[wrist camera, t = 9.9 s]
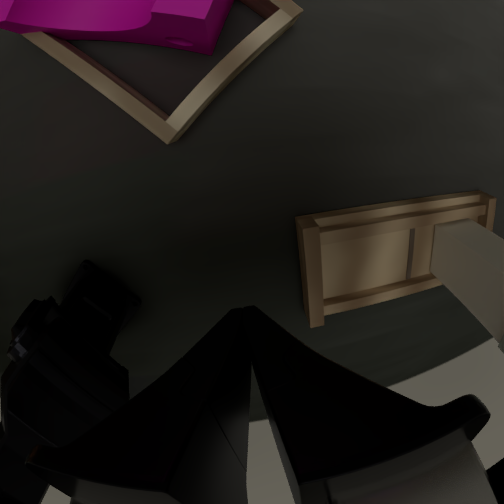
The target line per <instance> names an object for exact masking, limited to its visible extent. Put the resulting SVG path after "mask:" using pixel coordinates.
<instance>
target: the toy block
mask: <svg viewBox="0 0 504 504" xmlns="http://www.w3.org/2000/svg"><path fill="white" fill-rule="evenodd" d="M233 2H234V0H0V28H1V29H5V30H9V31H12V32H16V33H19V34H25V33H33V32H44V33H50V34H52V35H53V36H55V37H58V38H61V39H63V40H105V41H120V42H132V43H141V44H150V45H157V46H164V47H170V48H176V49H182V50H187V51H192V52H197V53H202V54H207V55H211V56H212V53H213V51H214V48H215V45H216V43H217V40H218V38H219V35H220V33H221V30H222V28H223V25H224V23H225V21H226V18H227V16H228V13H229V11H230V9H231V7H232V4H233Z"/></svg>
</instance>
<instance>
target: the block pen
mask: <svg viewBox="0 0 504 504" xmlns="http://www.w3.org/2000/svg"><path fill="white" fill-rule="evenodd" d="M240 1H241V2H242V3H244V4H245V5H247V6H248V7H249V8H251V9H252V10H254V11H255V12H256V13H258V14H259V15H260V16H262V17H263V18H264V19H266V21H264V22H263V23H262V24H261V25H260V26H258V27H257V28H256V29H255V30H254V31H253V32H252V33H250V34H249V35H248V36H247V37H246V38H245V39H244V40H243V41H241V42H240V43H239V44H238V45H237V46H236V47H235V48H234V49H233V50H232V51H231V52H230V53H229V54H228V55H226V56H225V57H224V58H223V59H222V60H221V61H220V62H219V63H218V64H217V65H216V66H215V67H214V68H213V69H212V70H211V71H210V72H209V73H208V74H207V76H206V77H205V78H204V79H203V80H202V81H201V82H200V83H199V84H198V85H197V86H196V87H195V88H194V89H193V90H192V92H191V93H190V94H189V95H188V96H187V97H186V98H185V99H184V100H183V102H182V103H181V104H180V105H179V106H178V107H177V109H176V110H175V111H174V112H173V113H172V114H171V116H169V115H168V114H166V113H165V112H164V111H162V110H161V109H160V108H159V107H157V106H156V105H155V104H153V103H152V102H151V101H149V100H148V99H147V98H146V97H144V96H143V95H142V94H140V93H139V92H138V91H136V90H135V89H134V88H132V87H131V86H130V85H128V84H127V83H126V82H124V81H123V80H121V79H120V78H119V77H117V76H116V75H115V74H113V73H112V72H111V71H109V70H108V69H106V68H105V67H104V66H102V65H101V64H99V63H98V62H97V61H95V60H94V59H92V58H91V57H89V56H88V55H86V54H85V53H84V52H82V51H81V50H79V49H78V48H76V47H75V46H73V45H72V44H70V43H69V42H67V41H66V40H63V39H61V38H58V37H55V36H53V35H52V34H50V33H44V32H33V33H25V34H21V35H22V36H24V37H25V38H27V39H28V40H30V41H31V42H32V43H34V44H35V45H37V46H38V47H40V48H41V49H42V50H44V51H45V52H47V53H48V54H49V55H51V56H52V57H54V58H55V59H56V60H58V61H59V62H60V63H62V64H63V65H65V66H66V67H67V68H69V69H70V70H71V71H73V72H74V73H75V74H77V75H78V76H79V77H81V78H82V79H83V80H85V81H86V82H88V83H89V84H90V85H92V86H93V87H94V88H95V89H97V90H98V91H99V92H101V93H102V94H103V95H105V96H106V97H107V98H109V99H110V100H111V101H113V102H114V103H115V104H116V105H118V106H119V107H120V108H122V109H123V110H124V111H126V112H127V113H128V114H129V115H131V116H132V117H133V118H135V119H136V120H137V121H138V122H140V123H141V124H142V125H143V126H145V127H146V128H147V129H149V130H150V131H151V132H152V133H154V134H155V135H156V136H157V137H159V138H160V139H161V140H162V141H164V142H165V143H166V144H170V143H173V142H175V141H178V140H179V138H180V137H181V136H182V135H183V134H184V132H185V131H186V130H187V129H188V128H189V127H190V125H191V124H192V123H193V122H194V121H195V120H196V119H197V117H198V116H199V115H200V114H201V113H202V112H203V111H204V110H205V109H206V107H207V106H208V105H209V104H210V103H211V102H212V101H213V100H214V99H215V98H216V97H217V96H218V95H219V94H220V92H221V91H222V90H223V89H224V88H225V87H226V86H227V85H228V84H229V83H230V82H231V81H232V80H233V79H234V78H235V77H236V76H237V75H238V74H239V73H240V72H241V71H242V70H243V69H244V68H245V67H246V66H247V65H249V64H250V63H251V62H252V61H253V60H254V59H255V58H256V57H257V56H258V55H259V54H260V53H261V52H262V51H264V50H265V49H266V48H267V47H268V46H269V45H270V44H271V43H273V42H274V41H275V40H276V39H277V38H278V37H279V36H281V35H282V34H283V33H284V32H285V31H287V30H288V29H289V28H290V27H291V26H292V25H293V24H294V23H295V21H296V20H297V18H298V17H299V16H300V14H301V13H302V11H303V9H302V8H300V7H299V6H298V5H297V4H295V3H294V2H293V1H292V0H240Z"/></svg>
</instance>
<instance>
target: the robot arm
mask: <svg viewBox="0 0 504 504" xmlns="http://www.w3.org/2000/svg"><path fill="white" fill-rule="evenodd" d="M85 265H87V267H88V268H87V267H86V266H85ZM55 301H56V300H55V299H54V298H53V297H52V296H50V297H49V298H48V299H47V300H45V299H44V300H43V301H38V300H35V299H34V300H33V301H32V302H31V303H30V305H29V306H28V307H27V308H26V309H25V311H24V312H23V313H22V315H21V316H20V317H19V319H18V320H17V322H16V323H15V325H14V326H13V328H12V329H11V333H12V340H11V343H10V347H9V349H8V352H7V355H8V356H9V357H10V358H11V359H12V361H11V362H10V364H9V365H8V367H7V368H6V370H5V372H4V373H3V375H2V377H1V422H0V504H41V502H42V500H43V498H44V496H45V494H46V491H47V490H48V488H49V486H50V485H52V486H53V487H55V488H56V489H58V490H60V491H61V492H63V493H64V494H66V495H68V496H70V497H71V501H70V504H248V499H247V488H246V472H247V452H248V430H249V411H250V390H251V361H252V365H253V369H254V373H255V376H256V379H257V383H258V386H259V390H260V393H261V396H262V400H263V403H264V406H265V410H266V413H267V416H268V419H269V423H270V426H271V429H272V432H273V435H274V439H275V442H276V445H277V448H278V451H279V454H280V458H281V461H282V464H283V467H284V470H285V473H286V476H287V479H288V482H289V486H290V489H291V492H292V495H293V498H294V501H295V504H504V458H503V459H501V460H500V461H499V462H497V463H496V464H495V465H493V466H492V467H491V468H489V469H487V470H485V468H484V466H483V464H482V462H481V460H480V458H479V456H478V454H477V452H476V450H475V448H474V446H473V444H472V442H471V441H472V440H473V439H474V438H475V436H476V435H477V434H478V433H479V432H480V431H481V430H482V428H483V427H484V426H485V425H486V423H487V422H488V420H489V418H490V413H489V411H488V409H487V408H486V406H485V405H484V403H482V402H481V400H480V399H478V398H477V397H476V396H475V395H472V394H468V395H464V396H462V397H459V398H457V399H455V400H453V401H451V402H449V403H447V404H445V405H442V406H435V407H434V406H426V405H423V404H420V403H418V402H416V401H414V400H412V399H409V398H407V397H405V396H403V395H401V394H399V393H396V392H394V391H392V390H390V389H388V388H386V387H384V386H382V385H380V384H378V383H376V382H373V381H371V380H369V379H367V378H365V377H363V376H361V375H359V374H357V373H355V372H353V371H351V370H349V369H347V368H345V367H343V366H342V365H340V364H338V363H336V362H334V361H332V360H330V359H328V358H326V357H324V356H323V355H321V354H319V353H317V352H316V351H314V350H313V349H311V348H310V347H308V346H307V345H305V344H304V343H303V342H301V341H300V340H298V339H297V338H296V337H294V336H293V335H292V334H290V333H289V332H288V331H286V330H285V329H284V328H283V327H281V326H280V325H279V324H277V323H276V322H275V321H274V320H272V319H271V318H270V317H268V316H267V315H266V314H265V313H263V312H262V311H261V310H260V309H258V308H257V307H256V306H254V305H253V306H247V307H244V308H243V309H242V308H235V309H231V310H230V311H229V312H228V313H227V314H226V315H225V316H224V317H223V318H222V319H221V320H220V321H219V322H218V323H217V324H216V325H215V326H214V327H213V328H212V329H211V330H210V331H209V332H208V333H207V334H206V335H205V336H204V337H203V338H202V339H201V340H200V341H198V342H197V343H196V344H195V345H194V346H193V347H192V348H191V349H190V350H189V351H188V352H187V353H186V354H185V355H184V356H183V358H181V359H179V360H178V361H177V362H176V363H175V364H174V365H173V366H172V367H171V368H170V369H169V370H168V371H167V372H165V373H164V374H163V375H162V376H160V377H159V378H158V379H157V380H156V381H154V382H153V383H152V384H150V385H149V386H148V387H146V388H145V389H144V390H143V391H141V392H140V393H139V394H137V395H136V396H135V397H133V398H132V399H131V400H129V398H130V396H129V378H128V370H127V369H126V368H125V367H124V366H121V365H120V364H119V363H117V362H116V361H115V360H114V359H113V358H112V357H110V356H109V354H110V351H111V349H112V347H113V344H114V342H115V339H116V337H117V335H118V334H119V332H120V331H121V330H122V329H123V327H124V326H125V325H126V324H127V322H128V321H129V320H130V318H131V317H132V316H133V315H134V313H135V312H136V311H137V310H138V308H139V307H140V305H141V300H140V299H139V298H138V297H137V296H135V295H134V294H132V293H131V292H130V291H128V290H127V289H125V288H124V287H123V286H121V285H120V284H119V283H117V282H116V281H114V280H113V279H112V278H110V277H109V276H108V275H106V274H105V273H104V272H102V271H101V270H100V269H99V268H97V267H96V266H95V265H93V264H92V263H91V262H90V261H88V260H85V261H83V262H82V264H81V265H80V267H79V269H78V271H77V273H76V274H75V276H74V278H73V280H72V282H71V284H70V286H69V288H68V290H67V292H66V294H65V296H64V298H63V300H62V303H61V304H60V305H59V306H58V304H57V303H56V302H55ZM134 302H137V304H136V303H134Z"/></svg>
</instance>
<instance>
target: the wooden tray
mask: <svg viewBox="0 0 504 504" xmlns="http://www.w3.org/2000/svg"><path fill="white" fill-rule="evenodd" d="M495 206H496V198H495V197H493V196H491V195H489V194H487V193H484V192H482V191H480V190H478V191H469V192H461V193H453V194H445V195H437V196H430V197H422V198H415V199H408V200H400V201H393V202H386V203H380V204H373V205H366V206H359V207H353V208H346V209H340V210H334V211H327V212H321V213H315V214H309V215H303V216H297V217H295V222H296V231H297V240H298V249H299V259H300V269H301V280H302V291H303V302H304V311H305V314H306V317H307V319H308V322H309V325H310V328H313V327H318V326H322V325H324V316H325V315H330V314H334V313H338V312H343V311H347V310H351V309H355V308H360V307H364V306H368V305H372V304H376V303H379V302H383V301H387V300H391V299H395V298H398V297H402V296H405V295H409V294H412V293H416V292H419V291H423V290H426V289H429V288H433V287H436V286H439V285H442V284H443V283H442V282H441V281H440V280H439V279H438V278H437V277H435V276H434V275H433V274H432V273H431V272H430V266H431V259H432V251H433V243H434V233H435V224H439V223H444V222H449V221H455V220H460V219H465V218H470V219H471V220H473V221H475V222H476V223H478V224H480V225H481V226H483V227H485V228H486V229H488V230H489V231H491V232H492V229H493V222H494V215H495Z"/></svg>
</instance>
